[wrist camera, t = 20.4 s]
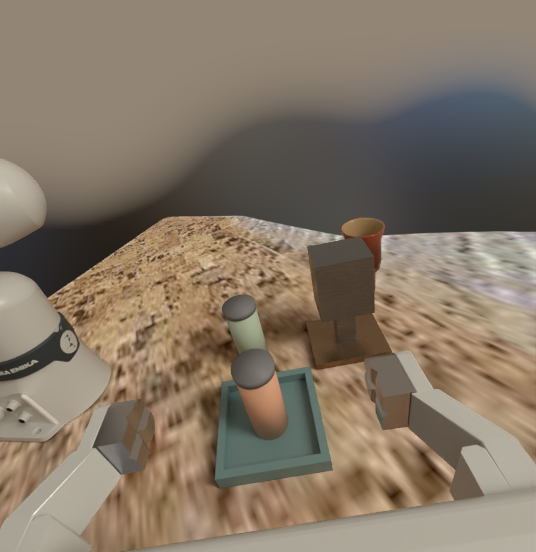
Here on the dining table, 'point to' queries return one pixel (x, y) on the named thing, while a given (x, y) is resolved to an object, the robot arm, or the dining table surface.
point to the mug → (366, 234)
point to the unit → (344, 304)
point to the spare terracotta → (260, 392)
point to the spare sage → (244, 323)
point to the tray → (279, 452)
